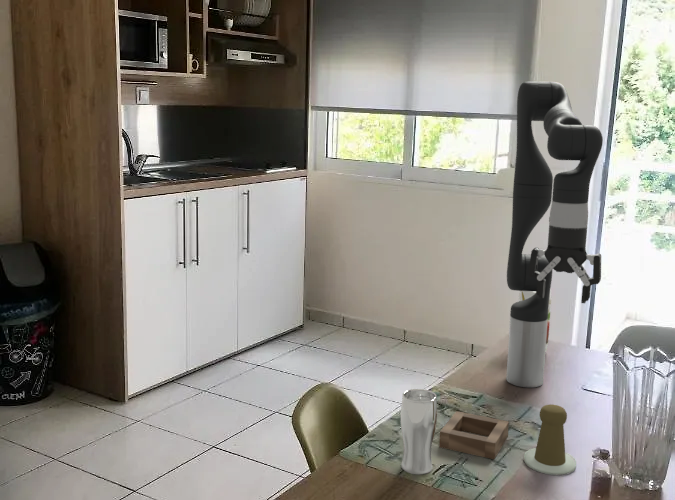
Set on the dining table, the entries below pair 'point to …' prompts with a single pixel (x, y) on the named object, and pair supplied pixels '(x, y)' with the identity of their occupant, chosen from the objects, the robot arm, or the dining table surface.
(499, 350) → the dining table surface
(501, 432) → the frame
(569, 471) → the coaster
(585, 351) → the dining table surface
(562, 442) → the olive pawn
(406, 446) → the beer glass
